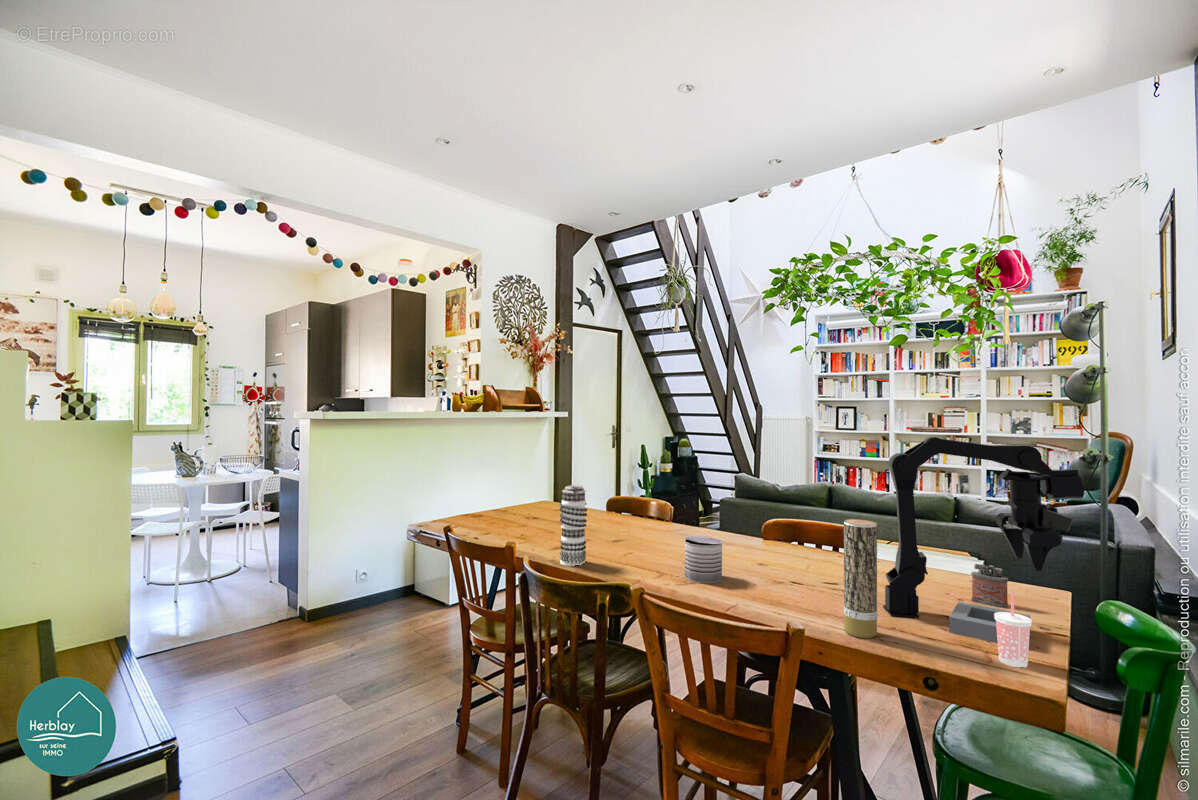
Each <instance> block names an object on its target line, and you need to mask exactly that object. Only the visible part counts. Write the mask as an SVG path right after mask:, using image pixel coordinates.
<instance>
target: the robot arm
mask: <svg viewBox="0 0 1198 800" xmlns="http://www.w3.org/2000/svg"><path fill="white" fill-rule="evenodd" d="M938 454H941V455H942V454H944V455H948V456H958V457H963V458H971V459H978V460H986V461H992V462H994V463H997V464H1002V465H1004V466H1008V467H1011V468H1015V469H1018V470H1022V471H1012V469H1009V468H1005V471H1003V472H1002V473H1000V474H999V475H998V478H1000V479H1002V480H1003V481H1009V489H1010V490H1009V492H1010V500H1006V501H1007V503H1006V504H1007V505H1008V506H1010V510H1011V511H1010V512H999V513H998V514H996V516H995V522H996V523H995V524H996V525H998V528H999V529H1000V531H1001V533H1002V535H1004V537H1005V539H1006V541H1007V543H1008V544H1009V547H1010V548H1011V550H1012V552H1013V554H1014V555H1015V557H1016V558H1017V559H1023V556H1024V549H1025V550H1026V552H1027V555H1028V557H1029V559H1030V562H1031V564H1032V566H1033V569H1034V571H1036V572H1041V571H1042V570H1043V567H1044V565H1045V562H1046V560H1047V557H1048V554H1049V552H1050V551H1051V550H1052V549H1054V548H1058V547H1059V546H1063V544H1064V543H1063V542H1064V541H1063V540H1064V539H1063V535H1062V534H1061V533H1059V532H1058V531H1057V530H1054V529H1053V528H1051V527H1050V526H1052V527H1055V528H1058V529H1061V530H1063V531H1064V532H1069V531H1070V528H1071V526H1072V525H1073V521H1074V518H1073V517H1070V516H1068V515H1065V514H1063V513H1061V512H1058V511H1059V510H1058V508H1057V507H1054V506H1052V505H1049V504H1044V503H1042V494H1043V495H1047V498H1049V499H1051V500H1057V499H1058V500H1081V499H1083V498H1084V495H1085V485H1084V483H1083V480H1082V477H1081V476H1080V474H1079V470H1078V469H1075V468H1066V469H1052V468H1051V467H1050V466H1049V465H1048V464H1046V462H1045V461H1044V460H1043V457H1042V454H1041V452H1040V450H1038V449H1037V448H1036V447H1034V446H1030V445H1026V444H985V443H983V444H981V443H976V442H966V441H960V440H955V439H954V440H951V439H944V438H939V437H936V436H928V437H926V438H925V439H924V440H922V441H921V442H919V443H917V444H916V445H914V446H913V447H911V448H909V449H907V450H906V451H905V452H898V453H895V454H893V455H892V456H890V458H889V460H888V469H889V473H890V476H891V480H892V482H893V486H894V489H895V499H896V500H895V501H896V504H895V505H896V518H897V530H898V531H897V534H898V547H897V551H896V556H895V563H894V567H893V568H892V569H890V570H889V571H888V572H886V573H885V577H886V580H887V582H888V584H885V587H884V589H885V591H884V592H885V593H884V596H885V597H884V599H885V600H884V601H885V603H884V604H885V605H882V608H883V609H884V611H886V612H887V613H888V614H889V615H890V616H892V617H900V618H901V617H902V618H904V617H905V618H920V615H919V614H918V613H919V610H920V609H919V607H920V605H919V604H920V603H919V599H920V598H919V596H918V595H917V590H916V589H917V587H918V586H919V585H921V584H922V583H923V582H925V578H926V575H929V572H928V571H927V556H926V555H925V554H924V552H923V551H919V549H918V542H917V540H918V539H917V526H916V525H917V524H916V510H915V496H914V492H915V491H914V490H915V486H916V483H917V477H918V469H919V467H921V466H923V465H924V464H926V463H927V462H928V461H929V460H931V458H932V457H934V456H936V455H938ZM1028 471H1029V472H1031V473H1035V474H1038V475H1030V473H1029V472H1028Z"/></svg>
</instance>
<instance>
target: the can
mask: <svg viewBox="0 0 1198 800" xmlns="http://www.w3.org/2000/svg"><path fill="white" fill-rule="evenodd" d="M683 537H684V538H685V541H684V579H686V578H687V579H686V580H687V581H689V580H690V582H692V581H694V582H693V583H697V582H699V583H698V584H716V583H719V582H720V583H721V582H722V580H723V543H724V542H723V540H721V539H717V538H713V537H709V536H702V535H684V536H683Z"/></svg>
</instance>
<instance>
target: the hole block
mask: <svg viewBox="0 0 1198 800" xmlns="http://www.w3.org/2000/svg"><path fill="white" fill-rule="evenodd" d="M996 612H1009V613H1011V610H1010V611H1009V610H1005V609H1002V608H1001V609H1000V608H996V607H995V608H994V607H991V606H986V605H985V606H984V605H981V604H980V605H979V604H974V603H968V602H963V601H958V602H957V604H955V607H954V608H953V610H952V611H951V613H950V615H949V617H948V619H949V621H948V626H949V627H948V629H949V631H948V633H949V634H950V633H952V634H956V635H960V636H964V637H968V638H973V639H978V640H982V641H987V642H992V643H996V644H998V641H997V628H996V620H995V618H994V617H995V616H994V614H995V613H996ZM1014 613H1015V614H1019V615H1023V616H1026V617H1028V618H1030V619H1031V614H1026V613H1021V612H1016V611H1014Z"/></svg>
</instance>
